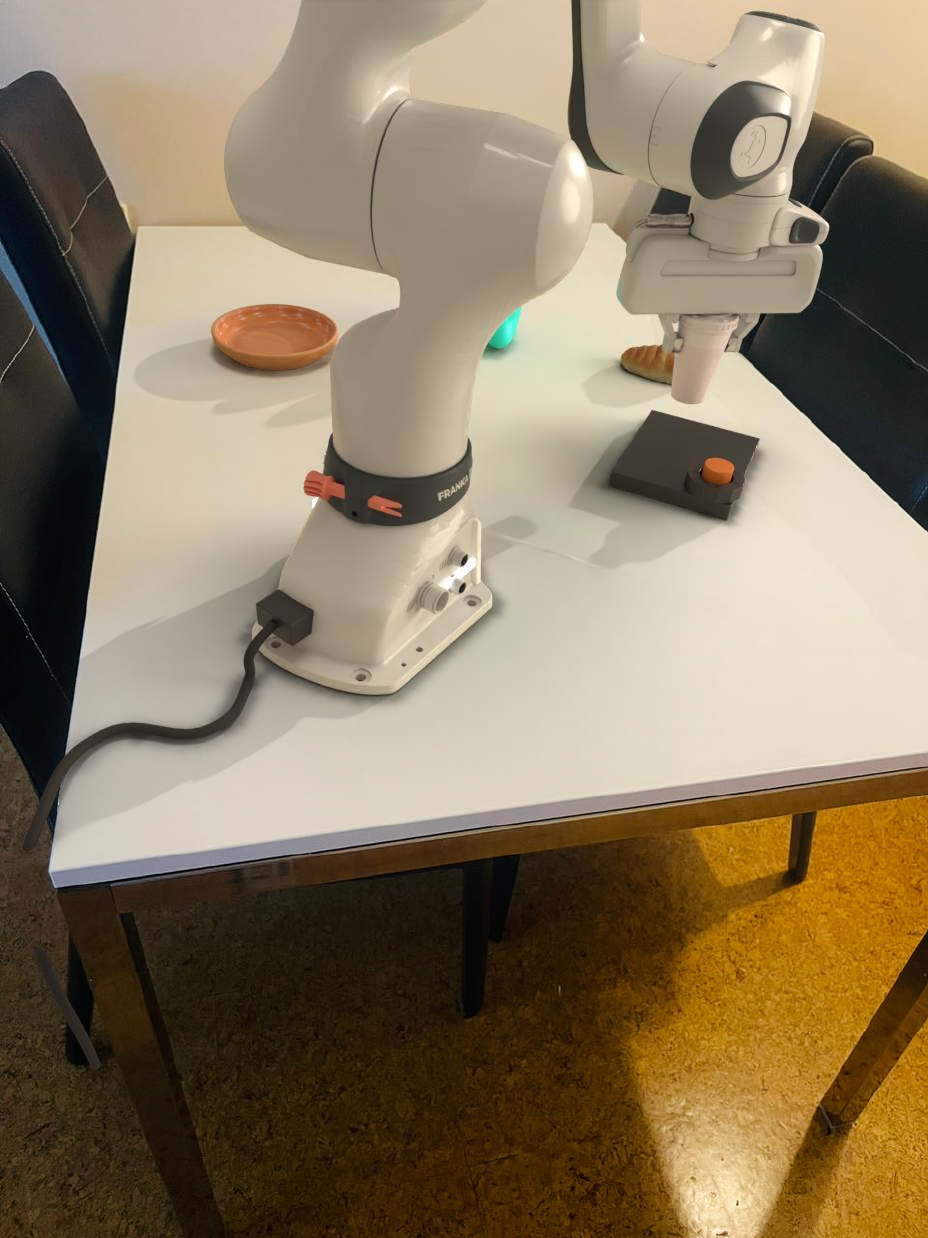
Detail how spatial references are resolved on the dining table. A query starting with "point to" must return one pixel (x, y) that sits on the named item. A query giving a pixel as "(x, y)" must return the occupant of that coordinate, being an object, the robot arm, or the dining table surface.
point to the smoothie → (699, 353)
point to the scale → (684, 464)
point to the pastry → (649, 362)
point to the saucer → (274, 335)
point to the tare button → (717, 471)
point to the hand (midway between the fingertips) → (700, 350)
